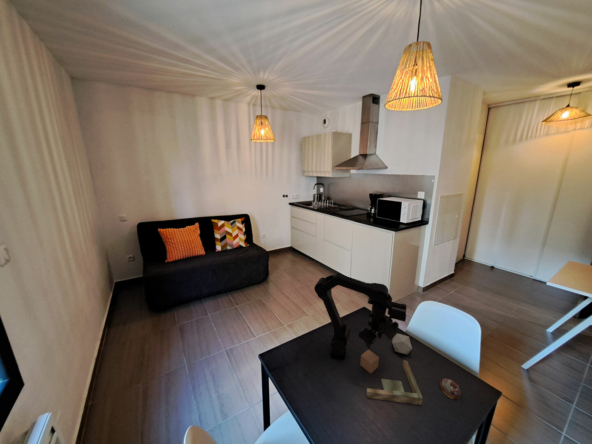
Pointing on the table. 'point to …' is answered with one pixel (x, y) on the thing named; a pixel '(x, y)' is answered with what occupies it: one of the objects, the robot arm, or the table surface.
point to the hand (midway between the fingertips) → (374, 343)
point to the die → (402, 344)
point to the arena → (398, 389)
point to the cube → (369, 361)
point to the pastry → (450, 388)
